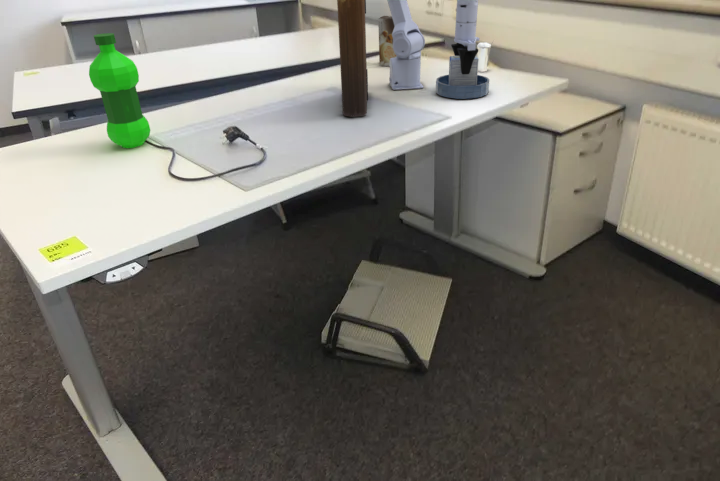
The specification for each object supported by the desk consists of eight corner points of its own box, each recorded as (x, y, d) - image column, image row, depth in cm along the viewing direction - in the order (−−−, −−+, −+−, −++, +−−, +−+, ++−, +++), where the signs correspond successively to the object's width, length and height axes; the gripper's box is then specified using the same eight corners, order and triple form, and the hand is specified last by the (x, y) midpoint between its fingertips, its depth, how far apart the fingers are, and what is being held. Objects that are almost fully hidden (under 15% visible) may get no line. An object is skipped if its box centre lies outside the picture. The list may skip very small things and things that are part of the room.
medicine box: (474, 85, 159) (477, 54, 155) (476, 89, 155) (478, 58, 151) (448, 85, 160) (449, 55, 155) (449, 89, 156) (450, 58, 152)
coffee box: (408, 63, 195) (408, 15, 186) (402, 67, 189) (403, 18, 181) (384, 62, 198) (384, 15, 190) (378, 65, 193) (377, 17, 184)
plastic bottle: (111, 155, 123) (78, 41, 111) (109, 141, 132) (79, 33, 119) (156, 147, 127) (129, 35, 114) (152, 134, 135) (127, 29, 122)
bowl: (442, 101, 151) (443, 88, 149) (431, 87, 164) (431, 75, 162) (495, 98, 152) (496, 84, 150) (479, 84, 165) (480, 72, 163)
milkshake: (491, 72, 178) (494, 40, 173) (475, 72, 179) (477, 40, 174) (491, 69, 182) (494, 38, 177) (475, 69, 183) (477, 38, 178)
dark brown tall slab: (344, 94, 161) (339, -16, 146) (368, 93, 161) (365, -17, 146) (341, 118, 141) (334, -7, 126) (368, 117, 141) (365, -8, 126)
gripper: (488, 25, 142) (483, 76, 149) (473, 17, 155) (469, 65, 162) (462, 26, 142) (459, 78, 149) (449, 18, 154) (446, 66, 161)
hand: (462, 71), depth 155 cm, fingers closed on medicine box, 5 cm apart
